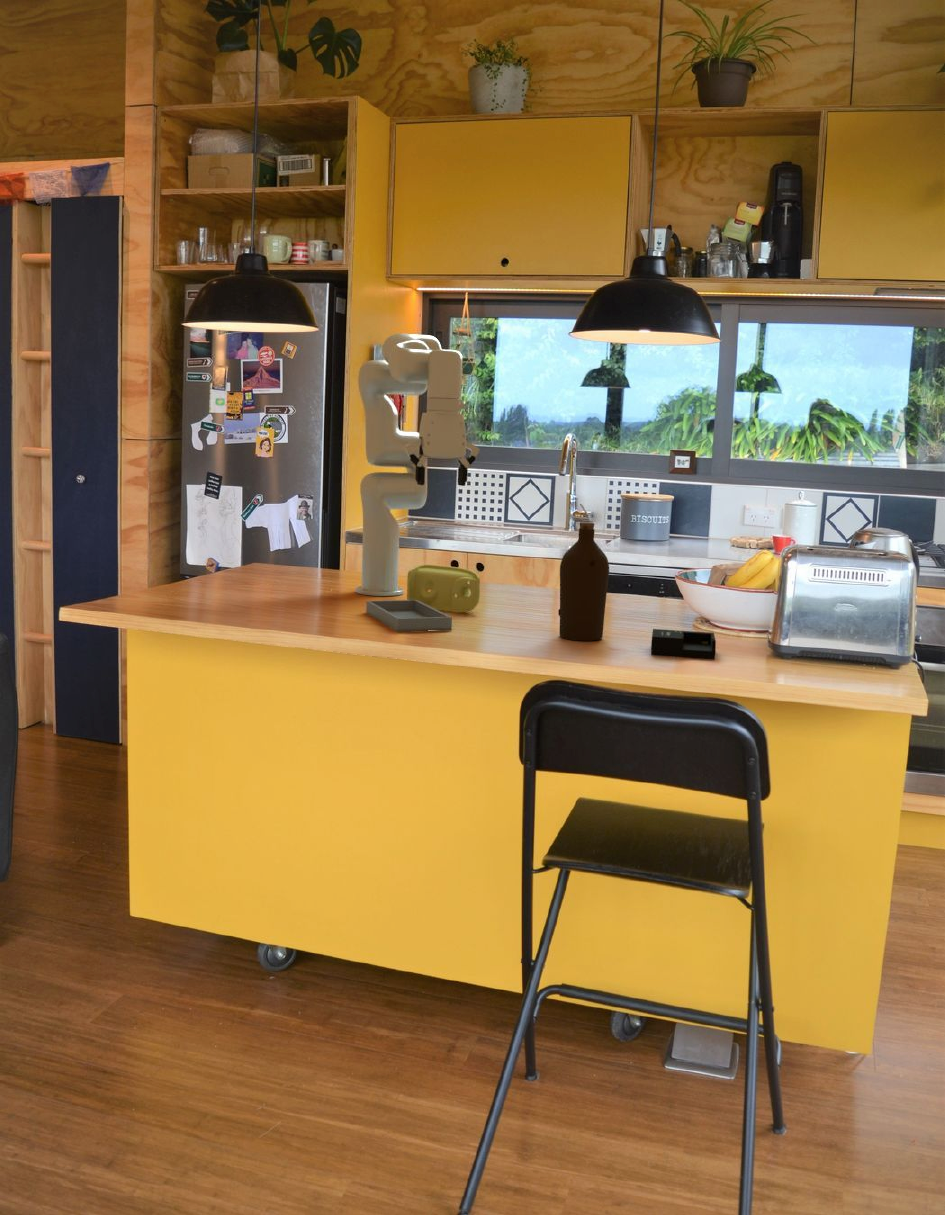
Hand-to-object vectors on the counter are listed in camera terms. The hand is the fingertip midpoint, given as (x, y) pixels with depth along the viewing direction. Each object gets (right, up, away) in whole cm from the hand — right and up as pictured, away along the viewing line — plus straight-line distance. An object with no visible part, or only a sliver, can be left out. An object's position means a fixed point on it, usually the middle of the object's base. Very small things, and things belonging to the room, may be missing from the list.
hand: (441, 485), depth 253 cm
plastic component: (+1, -28, +26) cm, 38 cm away
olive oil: (+31, -34, -5) cm, 46 cm away
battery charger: (+51, -37, -17) cm, 65 cm away
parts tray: (-8, -31, +6) cm, 32 cm away
